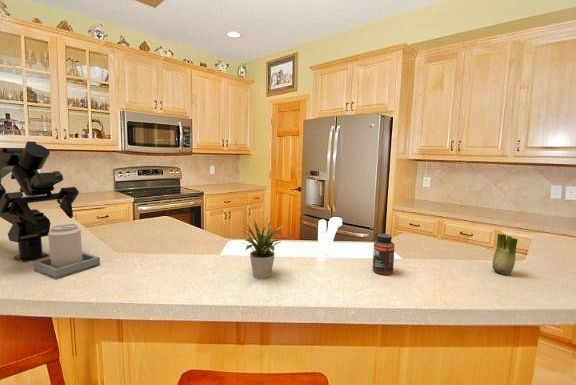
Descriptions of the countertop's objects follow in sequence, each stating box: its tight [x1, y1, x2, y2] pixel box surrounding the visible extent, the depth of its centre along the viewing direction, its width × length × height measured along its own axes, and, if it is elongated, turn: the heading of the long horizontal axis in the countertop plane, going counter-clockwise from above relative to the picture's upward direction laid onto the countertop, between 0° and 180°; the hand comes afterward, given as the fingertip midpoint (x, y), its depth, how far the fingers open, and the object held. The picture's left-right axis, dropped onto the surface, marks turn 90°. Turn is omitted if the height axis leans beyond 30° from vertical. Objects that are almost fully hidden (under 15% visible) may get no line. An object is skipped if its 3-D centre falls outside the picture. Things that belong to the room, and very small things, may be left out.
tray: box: [33, 251, 101, 280], centre depth 89 cm, size 12×12×2 cm
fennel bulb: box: [492, 233, 518, 276], centre depth 92 cm, size 6×5×12 cm
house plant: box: [239, 219, 285, 279], centre depth 86 cm, size 14×14×16 cm
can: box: [47, 223, 83, 269], centre depth 88 cm, size 8×8×12 cm
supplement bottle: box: [372, 233, 395, 276], centre depth 90 cm, size 6×6×11 cm
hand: (55, 220), depth 89 cm, fingers open, 9 cm apart
